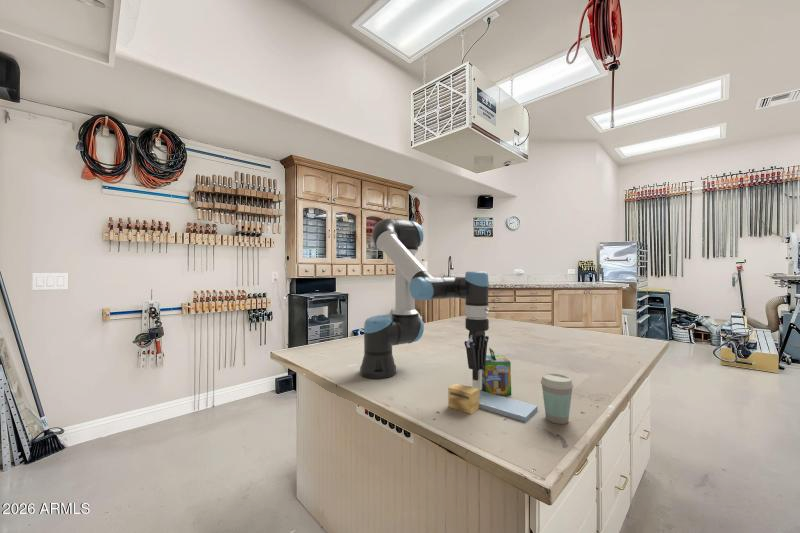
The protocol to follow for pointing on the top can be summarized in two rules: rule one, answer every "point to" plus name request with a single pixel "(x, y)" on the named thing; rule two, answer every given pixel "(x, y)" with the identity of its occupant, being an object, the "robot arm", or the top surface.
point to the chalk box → (496, 375)
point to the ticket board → (506, 406)
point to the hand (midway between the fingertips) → (477, 388)
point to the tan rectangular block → (463, 398)
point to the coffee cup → (557, 397)
